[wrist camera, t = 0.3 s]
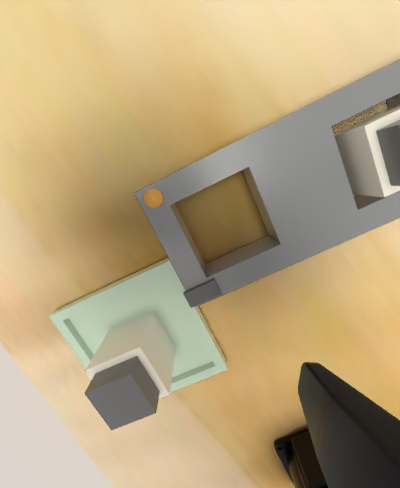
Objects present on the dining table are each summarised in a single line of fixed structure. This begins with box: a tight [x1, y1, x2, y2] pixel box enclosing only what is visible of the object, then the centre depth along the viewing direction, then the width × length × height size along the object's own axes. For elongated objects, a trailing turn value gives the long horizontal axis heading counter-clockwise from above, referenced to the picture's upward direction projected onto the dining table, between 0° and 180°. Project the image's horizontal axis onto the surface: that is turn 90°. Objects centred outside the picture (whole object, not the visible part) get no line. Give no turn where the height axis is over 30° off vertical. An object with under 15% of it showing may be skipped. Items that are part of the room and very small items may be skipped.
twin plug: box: [334, 105, 400, 197], centre depth 15 cm, size 4×4×6 cm
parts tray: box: [49, 257, 228, 393], centre depth 21 cm, size 11×11×1 cm
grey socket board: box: [134, 59, 400, 308], centre depth 17 cm, size 9×20×3 cm, turn 116°
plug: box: [85, 310, 176, 430], centre depth 18 cm, size 4×4×6 cm
